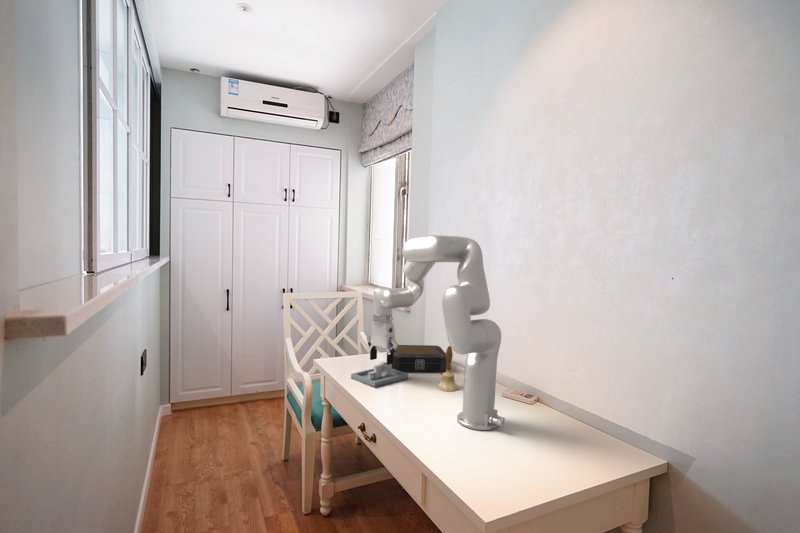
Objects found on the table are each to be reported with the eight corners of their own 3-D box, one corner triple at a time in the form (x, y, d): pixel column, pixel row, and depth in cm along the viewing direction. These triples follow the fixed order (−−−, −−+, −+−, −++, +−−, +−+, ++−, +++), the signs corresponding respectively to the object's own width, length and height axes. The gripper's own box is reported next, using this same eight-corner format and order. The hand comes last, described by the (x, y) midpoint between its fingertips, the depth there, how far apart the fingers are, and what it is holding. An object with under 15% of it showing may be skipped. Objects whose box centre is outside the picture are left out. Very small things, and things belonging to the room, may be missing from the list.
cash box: (390, 373, 175) (391, 355, 174) (386, 360, 195) (386, 344, 195) (448, 374, 178) (449, 356, 177) (438, 361, 198) (439, 345, 197)
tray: (408, 378, 168) (408, 373, 168) (374, 387, 155) (374, 382, 155) (384, 370, 178) (384, 365, 178) (351, 378, 165) (351, 373, 165)
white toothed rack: (370, 380, 162) (370, 365, 161) (367, 379, 163) (367, 364, 163) (392, 375, 170) (392, 360, 170) (389, 373, 171) (389, 359, 171)
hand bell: (462, 390, 157) (464, 348, 156) (442, 392, 153) (444, 349, 153) (451, 383, 164) (453, 343, 164) (432, 385, 161) (434, 344, 161)
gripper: (404, 320, 162) (403, 364, 162) (375, 315, 174) (374, 356, 174) (390, 322, 157) (389, 367, 157) (361, 316, 169) (360, 359, 169)
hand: (381, 361), depth 166 cm, fingers open, 9 cm apart
